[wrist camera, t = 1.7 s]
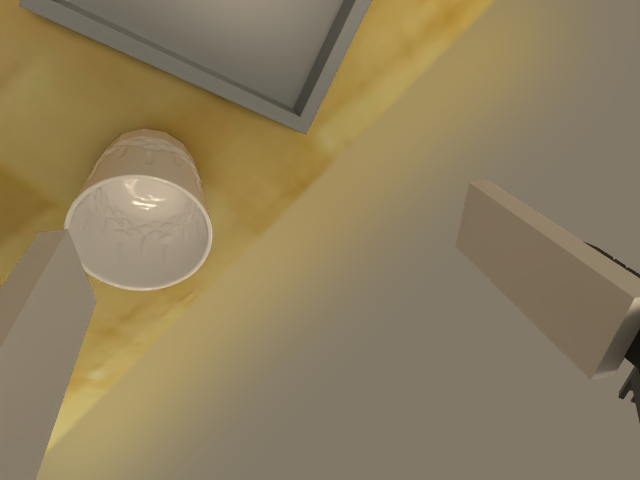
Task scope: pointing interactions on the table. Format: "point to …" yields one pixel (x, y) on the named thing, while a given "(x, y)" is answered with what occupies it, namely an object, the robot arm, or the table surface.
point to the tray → (228, 44)
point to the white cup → (141, 214)
